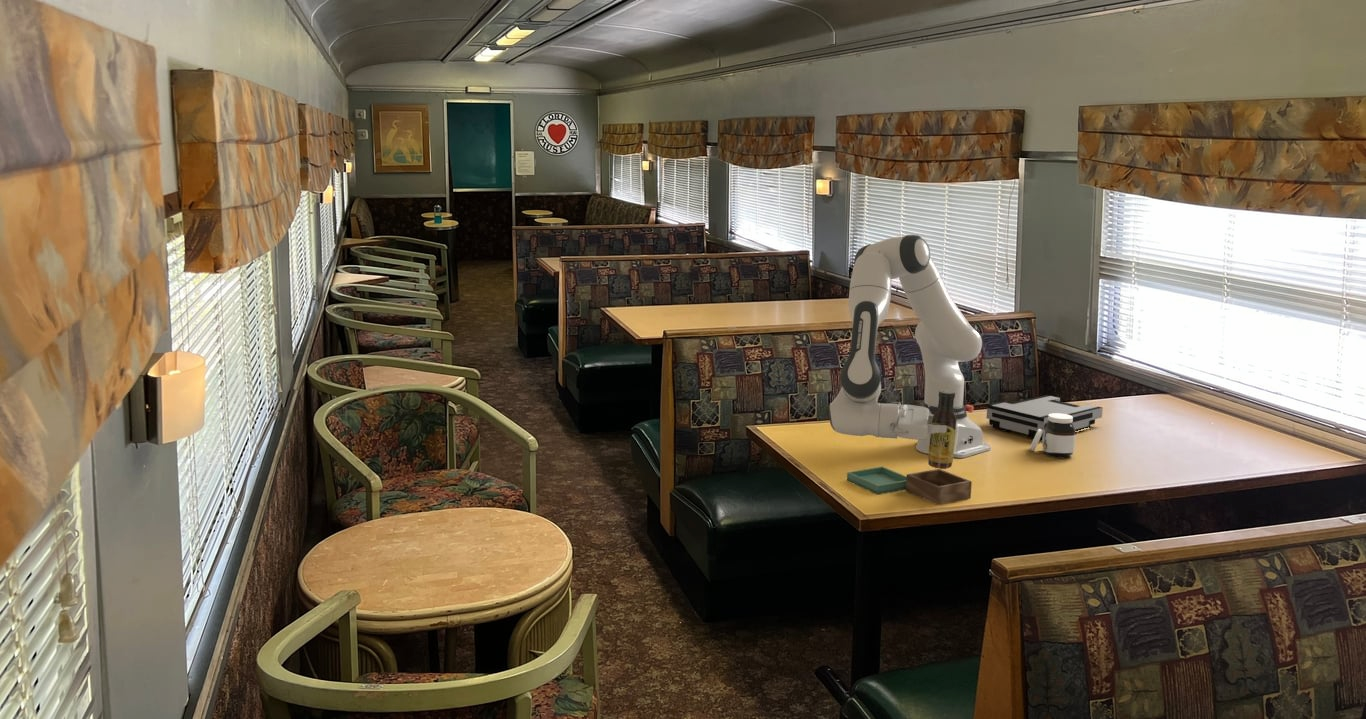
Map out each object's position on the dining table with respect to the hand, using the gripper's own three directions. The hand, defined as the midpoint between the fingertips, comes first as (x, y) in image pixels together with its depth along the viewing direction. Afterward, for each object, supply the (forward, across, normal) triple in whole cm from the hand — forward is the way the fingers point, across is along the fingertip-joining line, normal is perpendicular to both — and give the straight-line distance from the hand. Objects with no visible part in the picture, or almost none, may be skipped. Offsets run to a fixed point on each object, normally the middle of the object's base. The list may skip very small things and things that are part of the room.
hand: (946, 424), depth 273 cm
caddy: (-1, 0, +19) cm, 19 cm away
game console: (+31, +78, +20) cm, 86 cm away
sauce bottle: (-1, 0, +11) cm, 11 cm away
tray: (-16, +4, +19) cm, 25 cm away
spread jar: (+30, +48, +20) cm, 60 cm away
